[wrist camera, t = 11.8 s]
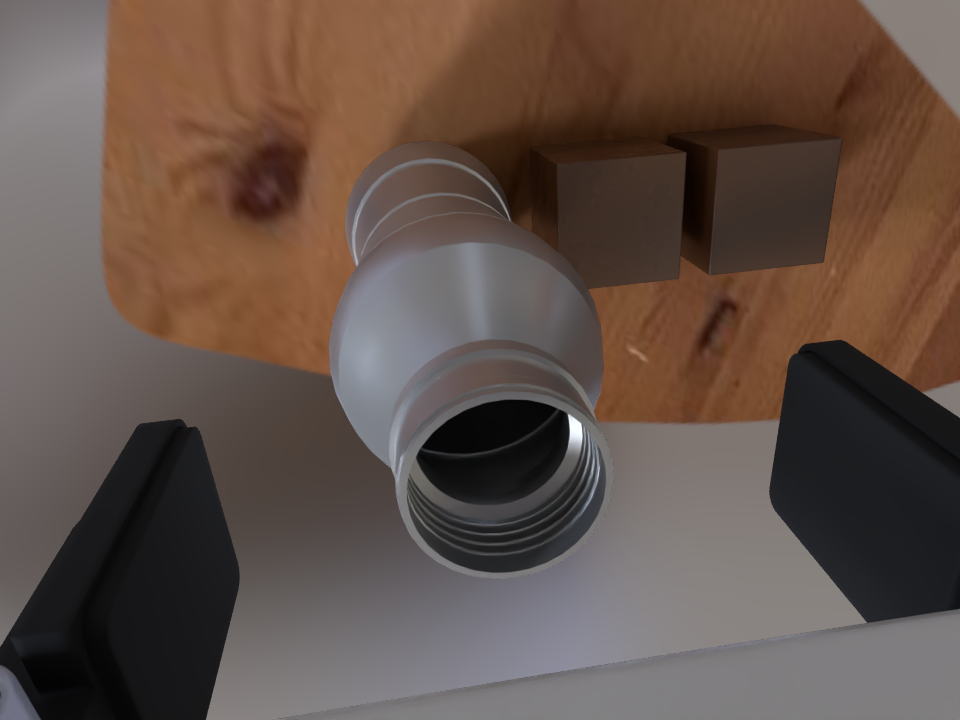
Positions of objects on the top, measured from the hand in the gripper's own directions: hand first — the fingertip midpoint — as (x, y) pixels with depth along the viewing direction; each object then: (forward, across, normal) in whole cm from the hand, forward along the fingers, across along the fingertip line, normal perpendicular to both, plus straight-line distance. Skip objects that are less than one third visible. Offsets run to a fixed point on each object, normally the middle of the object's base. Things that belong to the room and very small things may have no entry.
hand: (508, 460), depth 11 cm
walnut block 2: (+20, -13, +1) cm, 24 cm away
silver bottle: (+20, 0, +1) cm, 20 cm away
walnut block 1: (+20, -7, +1) cm, 21 cm away
